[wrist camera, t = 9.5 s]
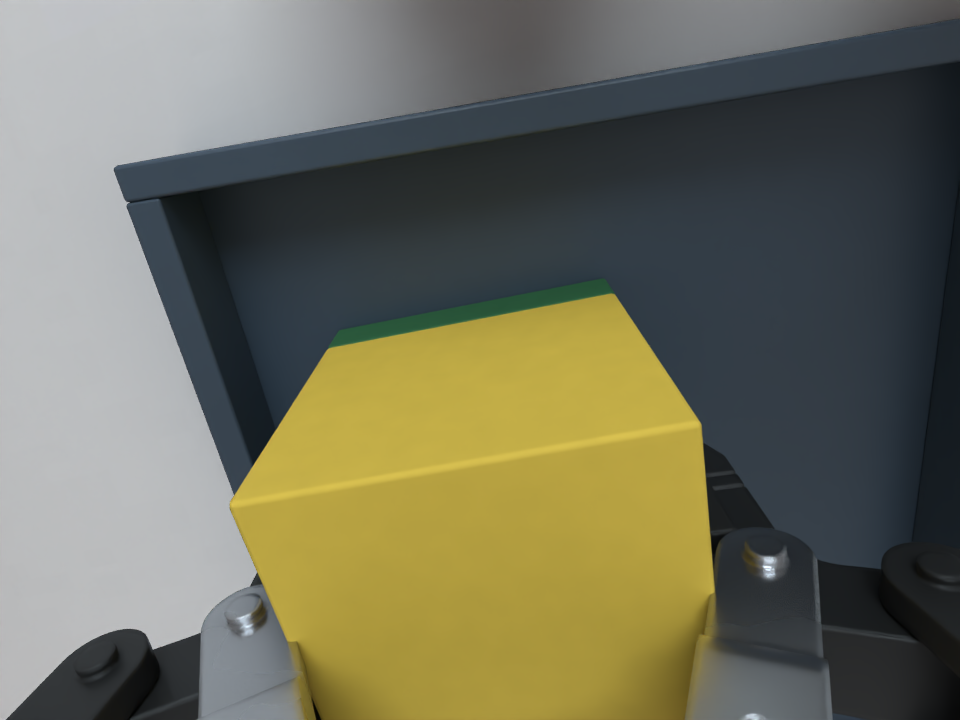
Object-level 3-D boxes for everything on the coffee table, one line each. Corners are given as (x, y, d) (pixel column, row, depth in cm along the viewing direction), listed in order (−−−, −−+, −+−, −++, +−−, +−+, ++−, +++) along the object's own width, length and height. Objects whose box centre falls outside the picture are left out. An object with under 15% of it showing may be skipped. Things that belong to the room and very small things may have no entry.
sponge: (338, 329, 13) (224, 504, 7) (605, 276, 12) (704, 420, 7) (429, 620, 16) (398, 903, 10) (646, 587, 15) (738, 864, 10)
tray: (175, 154, 12) (110, 166, 10) (981, 14, 11) (1097, -5, 9) (386, 789, 20) (374, 873, 17) (886, 739, 18) (938, 823, 16)
